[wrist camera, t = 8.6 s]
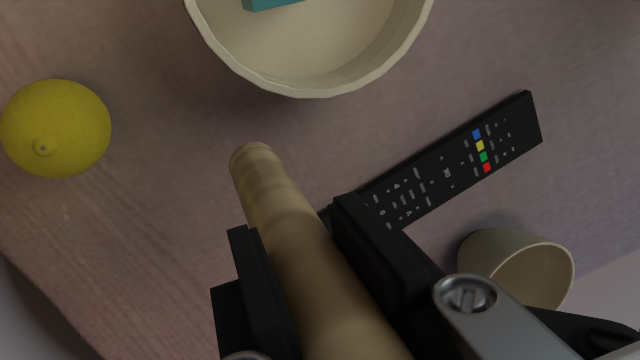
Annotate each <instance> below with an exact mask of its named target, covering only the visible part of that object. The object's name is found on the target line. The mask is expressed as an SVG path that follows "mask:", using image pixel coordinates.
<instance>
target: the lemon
mask: <svg viewBox="0 0 640 360" xmlns="http://www.w3.org/2000/svg"><path fill="white" fill-rule="evenodd" d="M111 132H112V129H111V119H110V116H109V113H108V111H107V108H106V106H105V105H104V104H103V102H102V101H101V99H100V98H99V97H98V96H97V95H96V94H95V93H94V92H92V91H91V90H90V89H88V88H87V87H85V86H83V85H81V84H79V83H76V82H73V81H70V80H66V79H45V80H39V81H36V82H33V83H31V84H29V85H26V86H24V87H23V88H21V89H20V90H19V91H18V92H17V93H15V94H14V95H13V96H12V97H11V98H10V100H9V101H8V103H7V104H6V106H5V107H4V109H3V112H2V116H1V119H0V139H1V142H2V145H3V147H4V149H5V151H6V152H7V154H8V155H9V157H10V158H11V159H12V160H13V161H14V162H15V163H16V164H17V165H18V166H19V167H21V168H22V169H24V170H26V171H28V172H29V173H31V174H35V175H38V176H41V177H47V178H65V177H70V176H73V175H76V174H79V173H82V172H83V171H85V170H87V169H88V168H90V167H92V166H93V165H94V164H95V163H96V162H97V161H98V160H99V159H100V158H101V157H102V156H103V154H104V153H105V151H106V149H107V147H108V145H109V142H110V137H111Z"/></svg>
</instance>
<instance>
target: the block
mask: <svg viewBox="0 0 640 360" xmlns="http://www.w3.org/2000/svg"><path fill="white" fill-rule="evenodd" d="M302 1H306V0H241V2H242V6H243V10H247V11H251V12H258V11H262V10H266V9H271V8H275V7H280V6H284V5H289V4H293V3H297V2H302Z"/></svg>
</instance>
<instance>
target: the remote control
mask: <svg viewBox="0 0 640 360" xmlns="http://www.w3.org/2000/svg"><path fill="white" fill-rule="evenodd" d="M542 142H543V140H542V136H541V131H540V127H539V123H538V119H537V115H536V111H535V107H534V102H533V98H532V94H531V91H528V90H524V91H522V92H520V93H519V94H517V95H515V96H514V97H512V98H511V99H509V100H507V101H506V102H504V103H502V104H501V105H499V106H497V107H496V108H494V109H492V110H491V111H489V112H487V113H486V114H484V115H483V116H481V117H479V118H478V119H476V120H474V121H473V122H471V123H469V124H468V125H466V126H464V127H463V128H461V129H460V130H458V131H456V132H455V133H453V134H451V135H450V136H448V137H446V138H445V139H443V140H441V141H440V142H438V143H437V144H435V145H433V146H432V147H430V148H428V149H427V150H425V151H423V152H422V153H420V154H418V155H417V156H415V157H414V158H412V159H410V160H409V161H407V162H405V163H404V164H402V165H400V166H399V167H397V168H395V169H394V170H392V171H390V172H389V173H387V174H386V175H384V176H382V177H381V178H379V179H377V180H376V181H374V182H372V183H371V184H369V185H367V186H366V187H364V188H363V189H361V190H359V191H358V192H356V194H357V195H358V196H359V197H360V198H361V199H362V200H363V202H364V203H365V204H366V205H367V206H368V207H369V208H370V209H371V210H372V211H373V212H374V213H375V214H376V215H377V216H378V217H379V219H380V220H381V221H382V222H383V223H384V224H385V225H386V226H387V227H388V228H389V229H392V228H395V227H399V228H400V229H401V230H402V229H403V228H405V227H406V226H408V225H410V224H411V223H413V222H414V221H416V220H418V219H419V218H421V217H423V216H424V215H426V214H427V213H429V212H431V211H432V210H434V209H435V208H437V207H439V206H440V205H442V204H443V203H445V202H447V201H448V200H450V199H451V198H453V197H455V196H456V195H458V194H460V193H461V192H463V191H464V190H466V189H468V188H469V187H471V186H472V185H474V184H476V183H477V182H479V181H480V180H482V179H484V178H485V177H487V176H489V175H490V174H492V173H493V172H495V171H497V170H498V169H500V168H501V167H503V166H505V165H506V164H508V163H509V162H511V161H513V160H514V159H516V158H517V157H519V156H521V155H522V154H524V153H526V152H527V151H529V150H530V149H532V148H534V147H535V146H537V145H538V144H540V143H542ZM318 217H319V218H320V220H321V221H322V223H323V224H324V226H325V227H326V229H327V230H328V231H329V233H330V234H331V236H332V237H333V233H332V228H331V223H330V217H329V212H328V210H326V211H325V212H323V213H321V214H320V215H318Z"/></svg>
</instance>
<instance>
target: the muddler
mask: <svg viewBox="0 0 640 360" xmlns="http://www.w3.org/2000/svg"><path fill="white" fill-rule="evenodd" d="M229 171H230V174H231V177H232V180H233V183H234V185H235V188H236V191H237V194H238V197H239V199H240V202H241V205H242V208H243V211H244V213H245V216H246V219H247V222H248V225H249V227H250V229H251V228H254V227H257V229H258V232H259V234H260V237H261V240H262V242H263V245H264V247H265V250H266V252H267V255H268V258H269V260H270V263H271V265H272V268H273V271H274V273H275V276H276V278H277V281H278V283H279V286H280V289H281V291H282V294H283V296H284V299H285V301H286V304H287V307H288V309H289V312H290V315H291V318H292V321H293V324H294V327H295V331H296V335H297V339H298V342H299V346H300V350H301V354H302V358H303V360H415V358H414V357H413V355H412V354H411V352H410V351H409V349H408V348H407V346H406V345H405V343H404V342H403V340H402V339H401V337H400V336H399V334H398V333H397V332H396V330H395V329H394V327H393V326H392V324H391V323H390V321H389V320H388V318H387V317H386V315H385V314H384V312H383V311H382V309H381V308H380V307H379V305H378V304H377V302H376V301H375V299H374V298H373V296H372V295H371V293H370V292H369V290H368V289H367V287H366V286H365V284H364V283H363V282H362V280H361V279H360V277H359V276H358V274H357V273H356V271H355V270H354V268H353V267H352V265H351V264H350V262H349V261H348V259H347V258H346V256H345V255H344V254H343V252H342V251H341V249H340V248H339V246H338V245H337V243H336V242H335V240H334V239H333V237H332V236H331V234H330V233H329V231H328V230H327V229H326V227H325V226H324V224H323V223H322V221H321V220H320V218H319V217H318V215H317V214H316V212H315V211H314V209H313V208H312V206H311V205H310V203H309V202H308V201H307V199H306V198H305V196H304V195H303V193H302V192H301V190H300V189H299V187H298V186H297V184H296V183H295V181H294V180H293V178H292V177H291V176H290V174H289V173H288V171H287V170H286V168H285V167H284V165H283V164H282V162H281V161H280V159H279V158H278V156H277V155H276V153H275V152H274V151H273V149H272V148H271V147H269V146H268V145H266V144H264V143H261V142H249V143H246V144H243V145H241V146H240V147H238V148H237V149H236V150H235V151H234V153H233V154H232V156H231V158H230V162H229Z"/></svg>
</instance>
